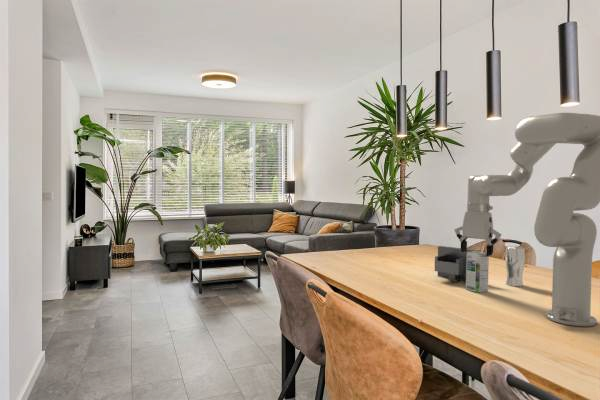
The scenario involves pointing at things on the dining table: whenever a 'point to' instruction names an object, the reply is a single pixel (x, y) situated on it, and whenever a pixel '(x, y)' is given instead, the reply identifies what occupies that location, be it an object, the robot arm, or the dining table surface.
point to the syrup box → (477, 271)
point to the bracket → (451, 263)
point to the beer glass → (514, 265)
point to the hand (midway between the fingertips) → (476, 253)
